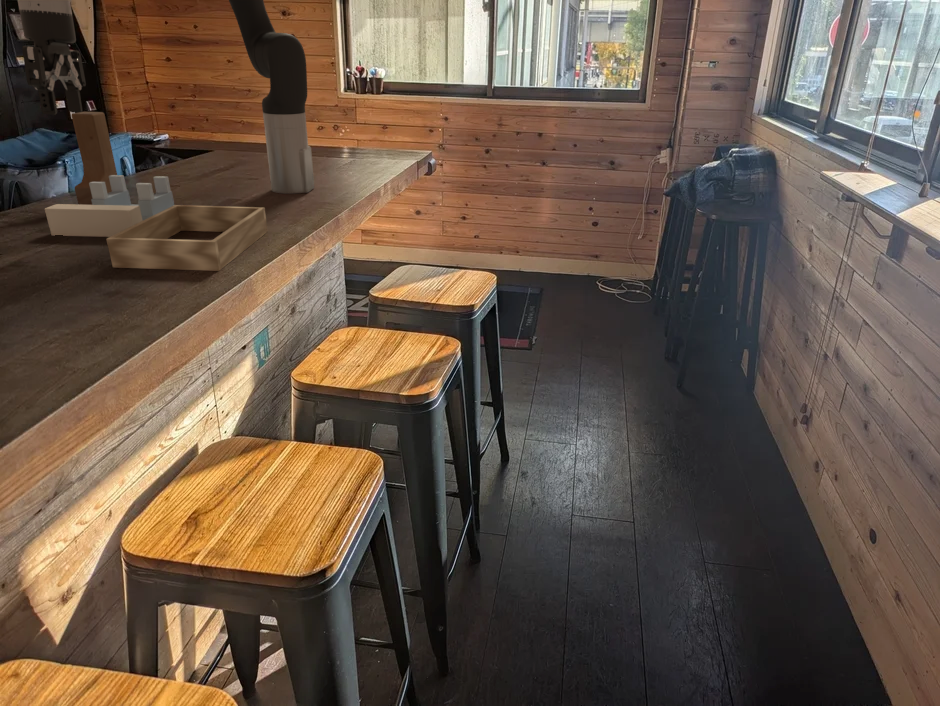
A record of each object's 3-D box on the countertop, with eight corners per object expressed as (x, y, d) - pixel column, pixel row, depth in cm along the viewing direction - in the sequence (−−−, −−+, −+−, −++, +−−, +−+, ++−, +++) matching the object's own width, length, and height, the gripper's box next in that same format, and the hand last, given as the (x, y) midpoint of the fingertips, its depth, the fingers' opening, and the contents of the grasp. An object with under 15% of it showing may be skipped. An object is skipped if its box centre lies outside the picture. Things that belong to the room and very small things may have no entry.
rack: (187, 210, 133) (181, 175, 130) (164, 222, 124) (157, 185, 121) (111, 208, 133) (103, 173, 130) (82, 220, 124) (73, 183, 121)
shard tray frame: (267, 231, 119) (264, 207, 117) (219, 270, 99) (214, 242, 97) (179, 229, 120) (174, 205, 118) (112, 267, 100) (106, 238, 98)
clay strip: (145, 233, 118) (139, 205, 116) (135, 238, 115) (129, 210, 113) (63, 231, 118) (56, 204, 116) (51, 236, 115) (44, 208, 113)
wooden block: (99, 209, 133) (78, 116, 125) (78, 208, 133) (55, 115, 125) (123, 199, 141) (104, 111, 133) (103, 199, 141) (83, 111, 133)
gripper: (45, 7, 102) (64, 116, 108) (90, 15, 115) (104, 112, 121) (-5, 4, 102) (17, 114, 108) (46, 12, 115) (62, 110, 121)
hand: (63, 113), depth 115 cm, fingers open, 8 cm apart
